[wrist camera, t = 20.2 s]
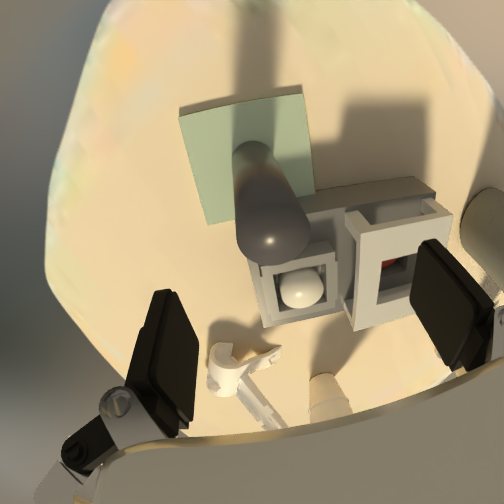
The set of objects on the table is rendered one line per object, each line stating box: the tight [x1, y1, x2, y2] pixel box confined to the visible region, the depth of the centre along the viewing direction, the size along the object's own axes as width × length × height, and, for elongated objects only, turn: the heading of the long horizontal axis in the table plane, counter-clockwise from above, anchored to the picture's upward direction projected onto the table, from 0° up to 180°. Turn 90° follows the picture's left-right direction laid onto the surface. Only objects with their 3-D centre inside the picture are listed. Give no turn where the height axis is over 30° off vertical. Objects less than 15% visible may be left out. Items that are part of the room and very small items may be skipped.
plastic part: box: [207, 342, 289, 431], centre depth 34 cm, size 8×10×12 cm
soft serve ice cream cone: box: [308, 373, 353, 423], centre depth 37 cm, size 8×8×16 cm
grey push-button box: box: [247, 176, 453, 332], centre depth 26 cm, size 18×12×7 cm, turn 100°
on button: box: [278, 266, 324, 308], centre depth 25 cm, size 4×4×2 cm
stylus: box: [232, 141, 311, 266], centre depth 18 cm, size 3×3×12 cm
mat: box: [178, 93, 315, 225], centre depth 23 cm, size 10×10×1 cm
